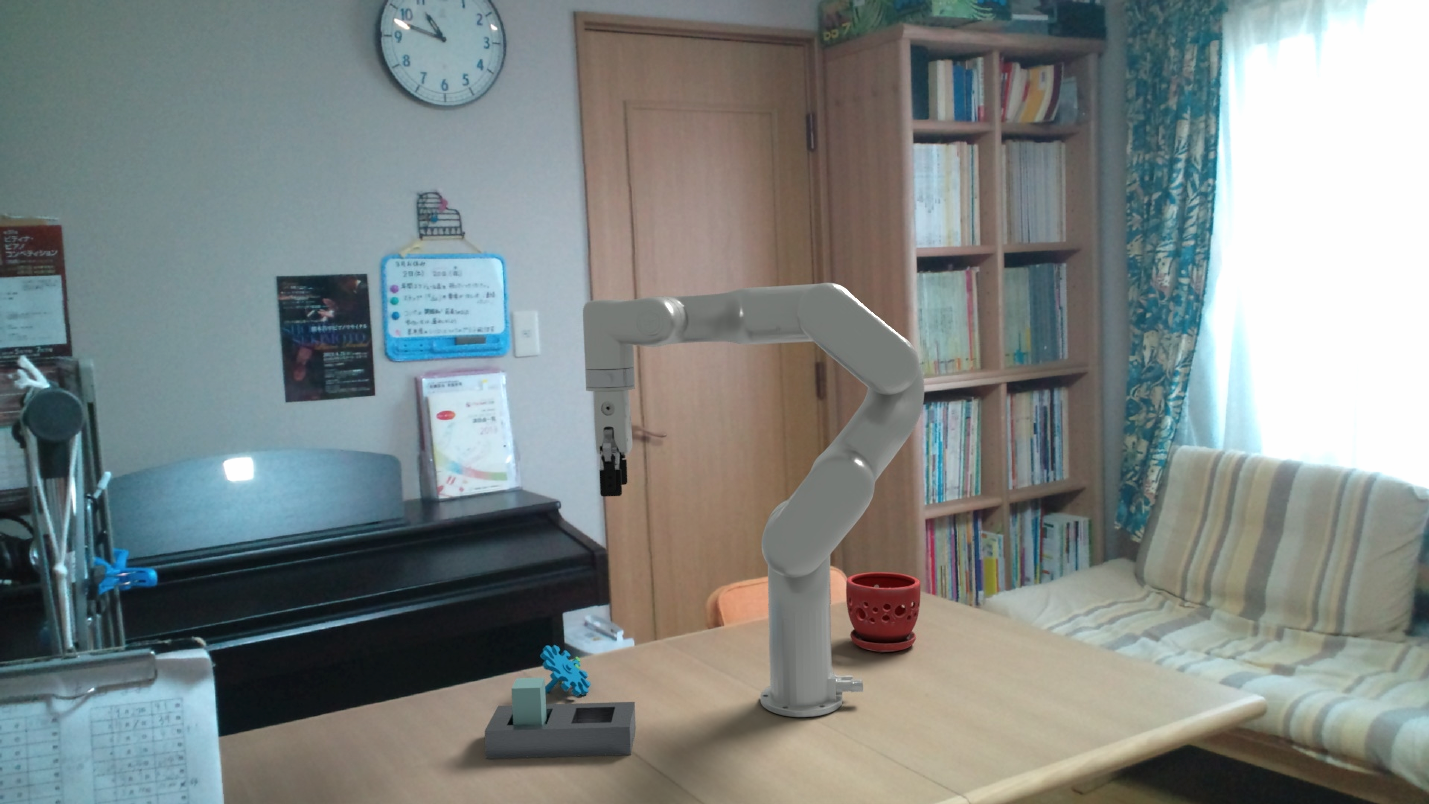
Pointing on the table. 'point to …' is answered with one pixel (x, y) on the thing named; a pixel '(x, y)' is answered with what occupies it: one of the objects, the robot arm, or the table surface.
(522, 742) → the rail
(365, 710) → the table surface
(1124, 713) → the table surface
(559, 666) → the gear
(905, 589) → the plant pot
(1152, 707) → the table surface
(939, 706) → the table surface
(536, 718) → the peg
